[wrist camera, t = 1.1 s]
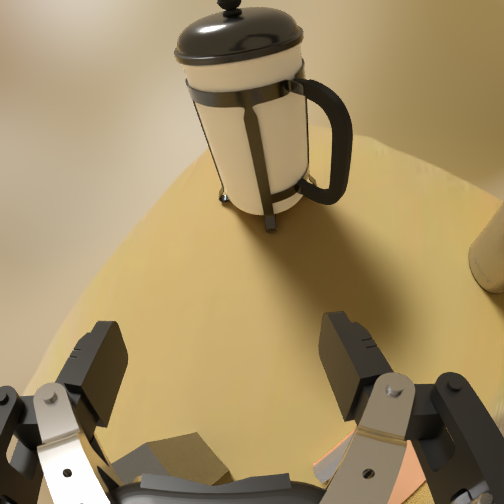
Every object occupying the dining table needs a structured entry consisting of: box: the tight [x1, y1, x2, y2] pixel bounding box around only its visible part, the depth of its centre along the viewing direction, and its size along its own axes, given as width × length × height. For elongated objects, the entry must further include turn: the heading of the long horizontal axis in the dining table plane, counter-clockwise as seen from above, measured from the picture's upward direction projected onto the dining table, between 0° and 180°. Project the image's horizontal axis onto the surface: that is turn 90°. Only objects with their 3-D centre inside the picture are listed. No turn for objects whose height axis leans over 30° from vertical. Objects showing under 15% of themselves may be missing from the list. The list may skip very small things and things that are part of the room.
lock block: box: [111, 432, 229, 486], centre depth 20 cm, size 5×6×13 cm
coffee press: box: [174, 0, 353, 232], centre depth 29 cm, size 17×16×30 cm
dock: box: [313, 428, 426, 504], centre depth 20 cm, size 12×13×6 cm
